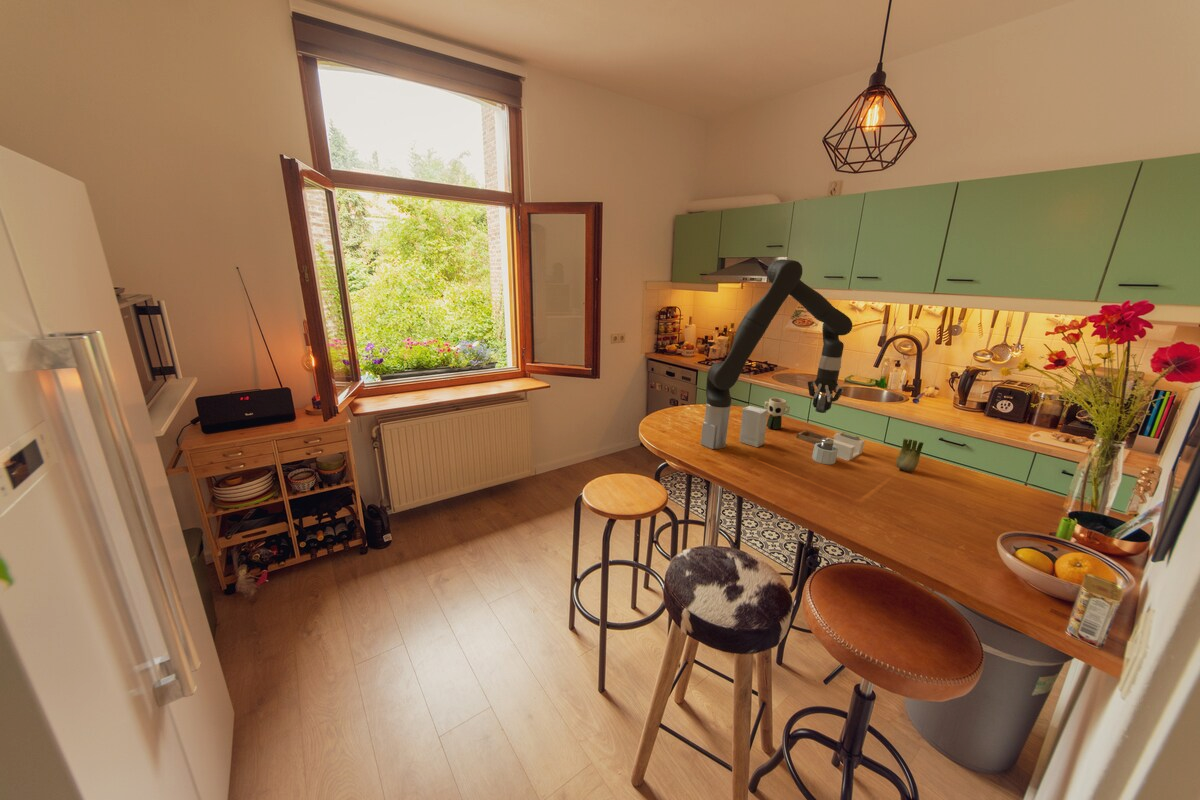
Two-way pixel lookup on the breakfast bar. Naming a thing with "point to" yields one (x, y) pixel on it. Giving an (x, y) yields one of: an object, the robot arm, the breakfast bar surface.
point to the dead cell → (826, 444)
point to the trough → (810, 437)
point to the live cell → (821, 402)
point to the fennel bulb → (909, 455)
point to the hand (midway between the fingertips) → (821, 408)
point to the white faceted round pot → (824, 454)
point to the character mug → (776, 412)
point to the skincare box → (753, 426)
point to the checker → (848, 445)
